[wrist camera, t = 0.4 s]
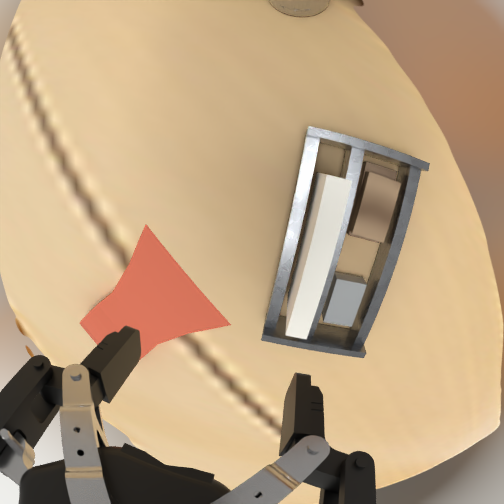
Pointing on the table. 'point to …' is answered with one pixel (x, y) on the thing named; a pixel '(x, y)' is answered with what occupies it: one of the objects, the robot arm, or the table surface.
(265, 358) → the table surface
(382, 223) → the offcut
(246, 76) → the table surface
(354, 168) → the rack
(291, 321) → the white flat board
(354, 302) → the offcut
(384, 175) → the offcut
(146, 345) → the sheet
